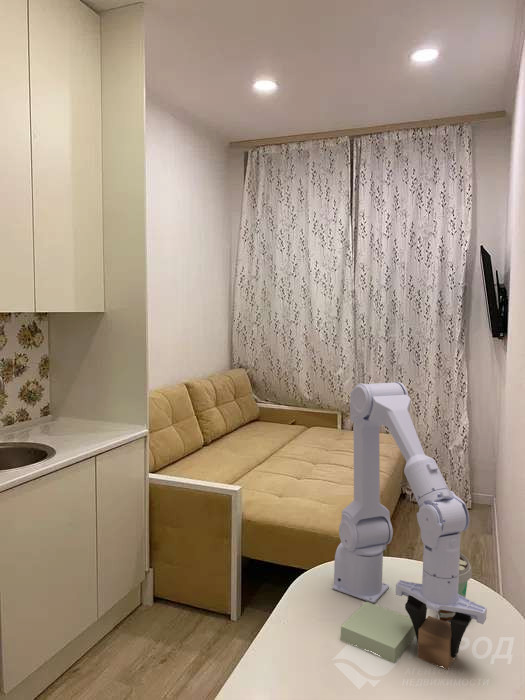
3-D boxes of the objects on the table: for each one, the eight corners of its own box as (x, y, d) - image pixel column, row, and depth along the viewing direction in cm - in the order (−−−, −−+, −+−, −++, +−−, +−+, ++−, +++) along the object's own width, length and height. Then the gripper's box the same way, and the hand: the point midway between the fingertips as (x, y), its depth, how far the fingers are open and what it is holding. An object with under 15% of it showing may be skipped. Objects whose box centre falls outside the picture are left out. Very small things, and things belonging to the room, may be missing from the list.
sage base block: (340, 642, 93) (340, 626, 93) (365, 616, 101) (366, 601, 101) (394, 665, 87) (394, 648, 87) (416, 635, 95) (417, 620, 95)
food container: (475, 629, 97) (478, 577, 96) (440, 625, 98) (442, 573, 97) (464, 594, 109) (466, 547, 108) (433, 590, 110) (434, 544, 109)
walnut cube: (417, 657, 89) (418, 629, 88) (427, 642, 93) (428, 615, 92) (447, 670, 86) (448, 640, 86) (456, 654, 90) (457, 625, 90)
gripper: (389, 566, 89) (387, 643, 90) (480, 594, 81) (476, 679, 82) (405, 551, 95) (402, 623, 96) (491, 575, 86) (487, 655, 88)
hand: (437, 647), depth 89 cm, fingers closed on walnut cube, 5 cm apart
